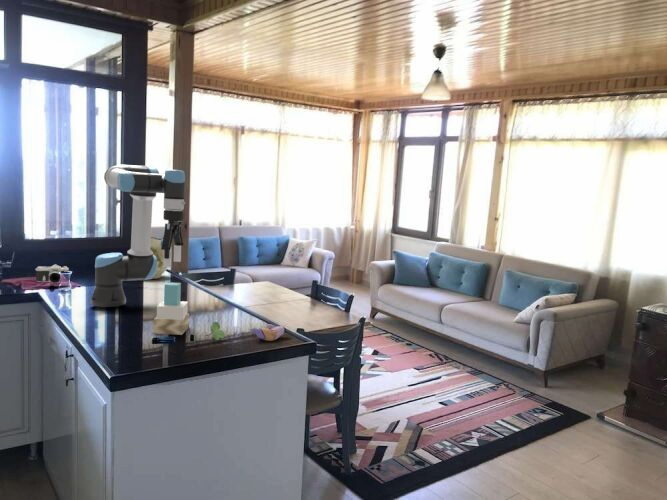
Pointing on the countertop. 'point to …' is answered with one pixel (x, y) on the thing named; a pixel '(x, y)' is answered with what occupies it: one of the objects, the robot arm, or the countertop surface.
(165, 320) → the tower bottom
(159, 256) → the pitcher
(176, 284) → the teal block
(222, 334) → the seedling
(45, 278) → the camera
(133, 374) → the countertop surface
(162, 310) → the tower top
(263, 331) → the toy
